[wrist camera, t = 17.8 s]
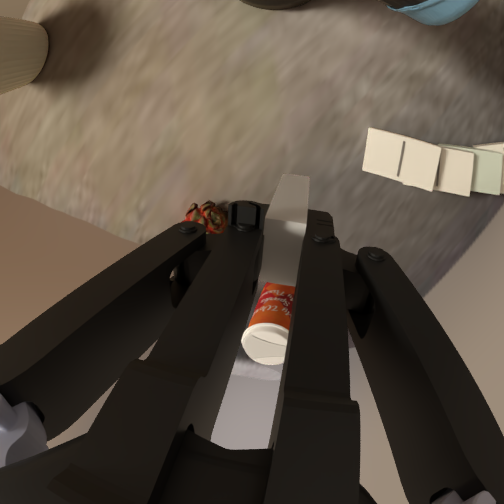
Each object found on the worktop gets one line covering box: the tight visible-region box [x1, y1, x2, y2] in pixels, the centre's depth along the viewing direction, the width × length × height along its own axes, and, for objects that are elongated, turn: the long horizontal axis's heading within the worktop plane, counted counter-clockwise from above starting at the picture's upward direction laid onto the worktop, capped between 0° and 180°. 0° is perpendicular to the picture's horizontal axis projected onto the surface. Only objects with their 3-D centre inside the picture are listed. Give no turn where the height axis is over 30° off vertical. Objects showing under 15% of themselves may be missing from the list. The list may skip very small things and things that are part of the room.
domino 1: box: [362, 127, 441, 192], centre depth 35 cm, size 6×2×10 cm
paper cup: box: [241, 282, 295, 365], centre depth 47 cm, size 8×8×14 cm
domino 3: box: [438, 143, 503, 195], centre depth 33 cm, size 6×2×10 cm
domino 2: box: [403, 145, 474, 197], centre depth 35 cm, size 6×2×10 cm
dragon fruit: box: [182, 200, 228, 234], centre depth 46 cm, size 8×8×12 cm
